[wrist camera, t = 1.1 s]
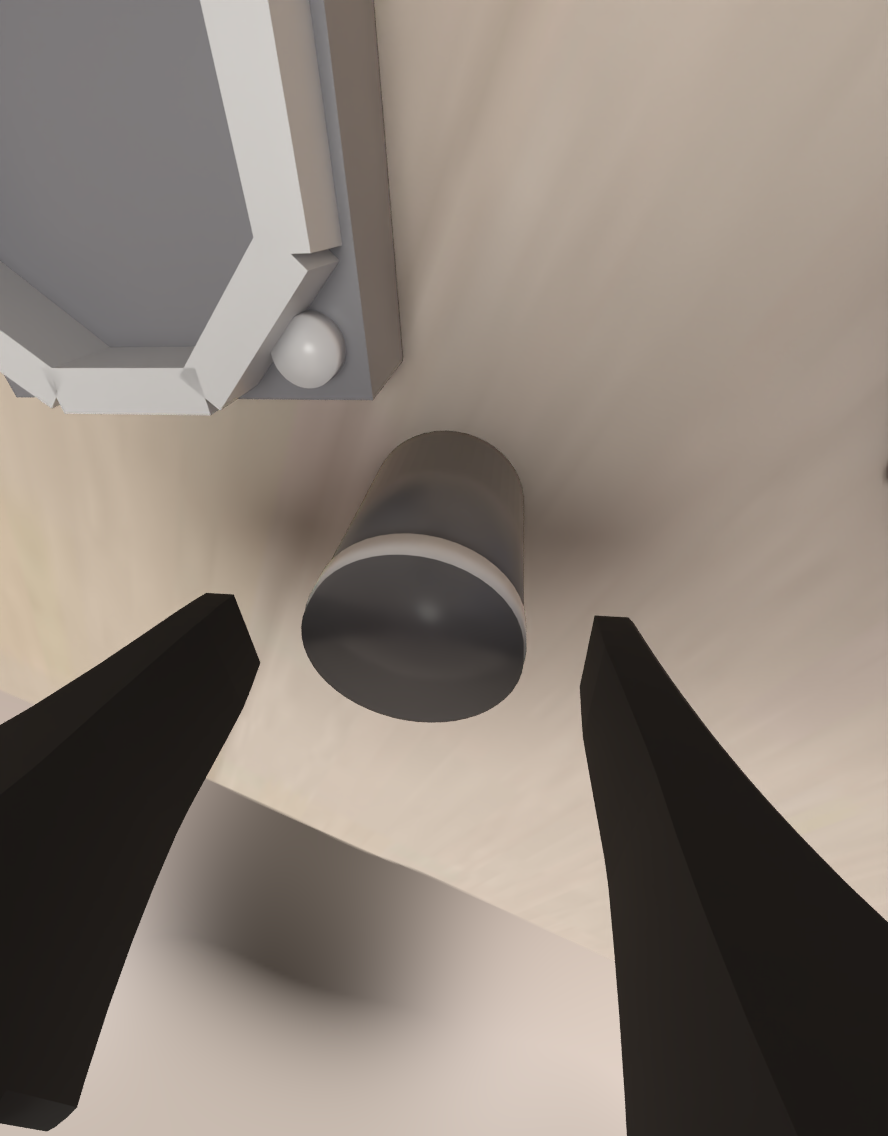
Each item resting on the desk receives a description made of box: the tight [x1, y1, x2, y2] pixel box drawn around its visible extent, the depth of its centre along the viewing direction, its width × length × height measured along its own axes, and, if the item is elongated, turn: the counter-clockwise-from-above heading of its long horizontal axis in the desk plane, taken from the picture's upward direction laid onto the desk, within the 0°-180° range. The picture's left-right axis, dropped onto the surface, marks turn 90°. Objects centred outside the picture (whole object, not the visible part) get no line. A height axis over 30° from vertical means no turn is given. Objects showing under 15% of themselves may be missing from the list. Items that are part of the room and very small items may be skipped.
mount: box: [0, 0, 403, 415], centre depth 8 cm, size 8×8×4 cm
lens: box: [301, 431, 526, 722], centre depth 12 cm, size 4×4×6 cm
